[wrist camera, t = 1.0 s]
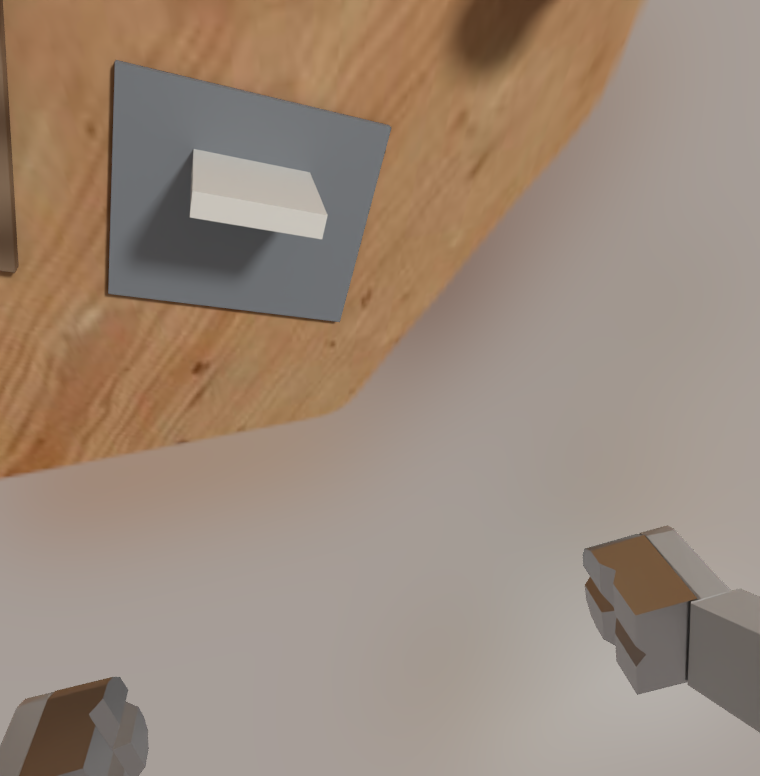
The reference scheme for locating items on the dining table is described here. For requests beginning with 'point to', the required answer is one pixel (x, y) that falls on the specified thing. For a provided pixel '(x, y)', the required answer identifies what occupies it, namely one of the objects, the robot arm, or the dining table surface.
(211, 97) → the mat
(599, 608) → the robot arm
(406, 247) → the dining table surface
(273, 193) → the tile
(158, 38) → the dining table surface
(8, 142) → the board
